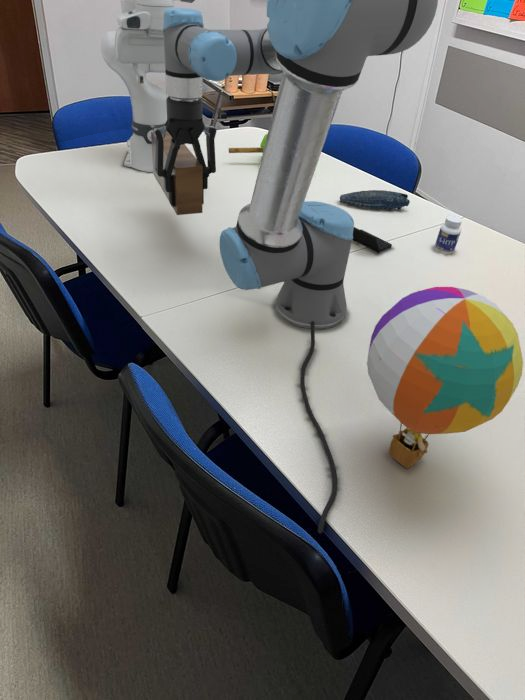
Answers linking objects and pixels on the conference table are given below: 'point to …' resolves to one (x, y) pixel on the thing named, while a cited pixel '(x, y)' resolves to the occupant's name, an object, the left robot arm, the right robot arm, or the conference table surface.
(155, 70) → the left robot arm
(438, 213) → the conference table surface
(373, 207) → the fish model
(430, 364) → the toy
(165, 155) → the box
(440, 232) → the pill bottle
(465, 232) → the conference table surface
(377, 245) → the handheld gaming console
